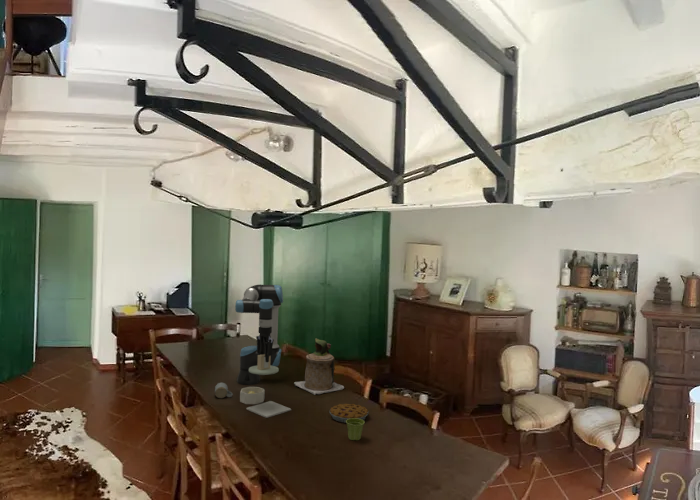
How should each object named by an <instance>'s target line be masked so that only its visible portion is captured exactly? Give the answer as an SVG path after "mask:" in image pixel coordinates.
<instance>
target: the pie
mask: <svg viewBox="0 0 700 500" xmlns="http://www.w3.org/2000/svg"><path fill="white" fill-rule="evenodd" d="M329 414H330V415H331V417H332V418H331V419H333V420H335V421H336V422H340V423H344V424H345V423H346V420H347V419H351V418H357V419H361V420H363V421H365V419H366V418H367V416H368V415H369V410H368V409H367V407H365V406H362V405H360V404H355V403H352V404H351V403H350V404H349V403H338V404H337V405H333V407H332V406H331V408H330V409H329ZM346 424H347V423H346Z"/></svg>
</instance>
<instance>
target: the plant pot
mask: <svg viewBox="0 0 700 500" xmlns="http://www.w3.org/2000/svg"><path fill="white" fill-rule="evenodd" d="M365 422H366V421H365V420H361V419H357V418H351V419H347V420H346V425H347V435H348V436H347V437H348V439H349V441H350V440H351V441H360V440H361V438H362V432H363V427H364V424H365Z"/></svg>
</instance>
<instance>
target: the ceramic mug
mask: <svg viewBox="0 0 700 500" xmlns="http://www.w3.org/2000/svg"><path fill="white" fill-rule="evenodd" d="M214 394H215V396H216V397H217V398H218V399H224V398H225V397H228V398H233V396H234V394H233V392H232V391H231V390H229V388H228V385H227V383H225V382H217V384H216V385H215V386H214Z"/></svg>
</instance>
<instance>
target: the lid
mask: <svg viewBox="0 0 700 500" xmlns="http://www.w3.org/2000/svg"><path fill="white" fill-rule="evenodd" d="M264 356H265V354H263V355H258V363H257V366H252V367H250V368H249V372H250V373H252V374H258V375H259V376H265V375H274V374H277V373H278V372H279V369H280V368H279V367H278V366H271V365H270V360H271V356H269V362H268V367H267V368H264Z"/></svg>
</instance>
